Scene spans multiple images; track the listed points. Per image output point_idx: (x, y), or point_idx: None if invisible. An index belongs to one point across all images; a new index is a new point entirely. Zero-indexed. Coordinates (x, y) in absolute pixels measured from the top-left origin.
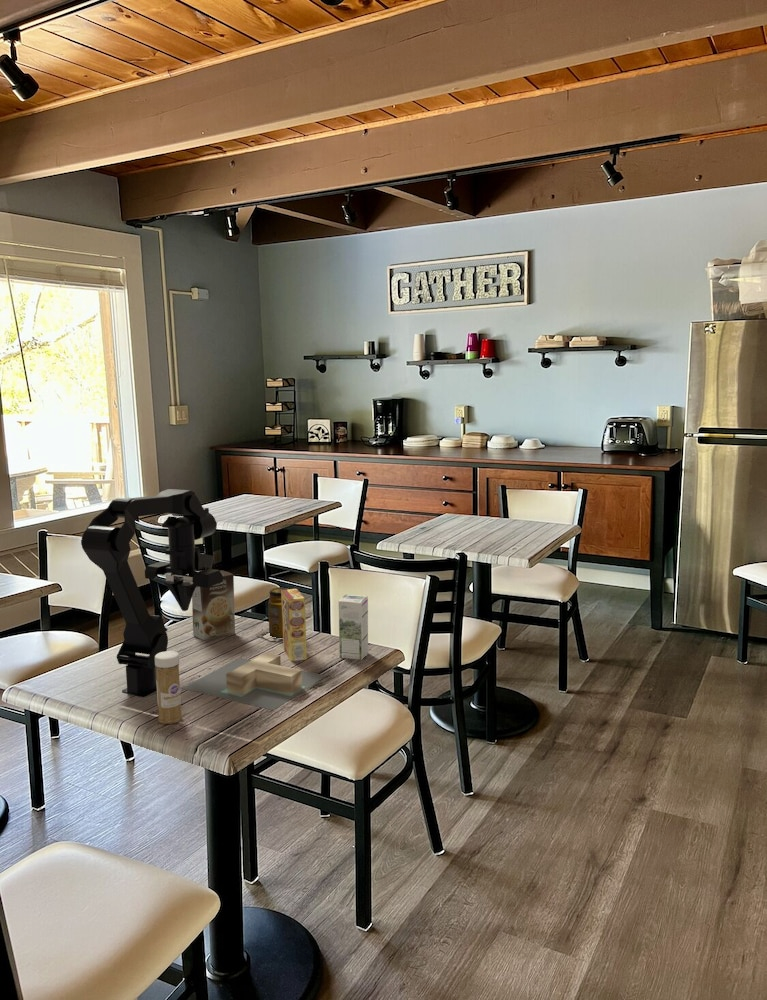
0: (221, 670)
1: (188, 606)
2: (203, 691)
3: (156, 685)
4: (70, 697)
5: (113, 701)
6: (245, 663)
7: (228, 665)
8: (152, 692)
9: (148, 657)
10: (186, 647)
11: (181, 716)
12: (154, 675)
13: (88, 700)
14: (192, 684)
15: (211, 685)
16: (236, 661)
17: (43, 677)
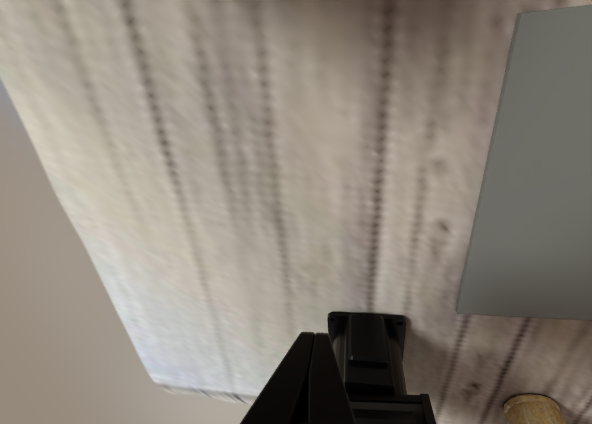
0: (508, 175)
1: (336, 361)
2: (536, 309)
3: (397, 341)
4: (263, 386)
5: None
6: (586, 60)
7: (511, 122)
8: (403, 349)
9: (372, 406)
10: (192, 44)
11: (559, 408)
12: (403, 375)
13: None
14: (472, 289)
15: (540, 275)
16: (526, 66)
17: (136, 349)
